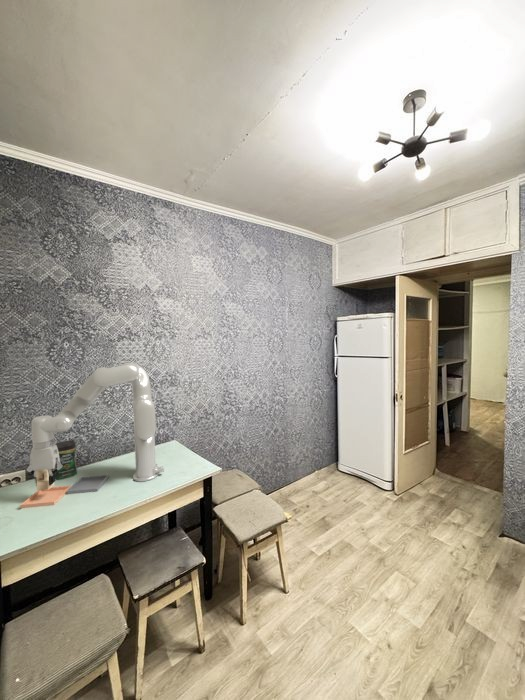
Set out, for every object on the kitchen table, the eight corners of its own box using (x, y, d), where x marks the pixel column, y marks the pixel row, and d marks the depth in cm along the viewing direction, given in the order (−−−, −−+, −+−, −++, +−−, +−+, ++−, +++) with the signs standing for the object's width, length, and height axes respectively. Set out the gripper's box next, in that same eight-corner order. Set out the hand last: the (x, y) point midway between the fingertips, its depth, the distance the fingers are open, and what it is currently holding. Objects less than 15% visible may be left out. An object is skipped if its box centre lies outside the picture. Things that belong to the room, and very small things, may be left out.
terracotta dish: (71, 489, 132) (70, 485, 132) (54, 506, 119) (54, 501, 119) (40, 492, 130) (40, 488, 130) (20, 509, 117) (20, 505, 117)
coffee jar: (54, 482, 139) (52, 446, 138) (55, 476, 145) (53, 441, 144) (77, 476, 144) (75, 441, 143) (77, 470, 151) (75, 437, 150)
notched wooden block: (54, 484, 127) (53, 465, 126) (48, 489, 122) (47, 470, 122) (43, 485, 126) (42, 466, 126) (36, 490, 121) (35, 470, 121)
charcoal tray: (109, 478, 142) (109, 474, 142) (97, 492, 129) (97, 488, 129) (81, 480, 140) (81, 476, 140) (66, 495, 127) (66, 491, 127)
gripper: (68, 439, 128) (70, 478, 129) (28, 442, 126) (30, 481, 127) (59, 446, 121) (61, 486, 121) (16, 448, 118) (18, 490, 119)
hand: (45, 483), depth 124 cm, fingers closed on notched wooden block, 4 cm apart
